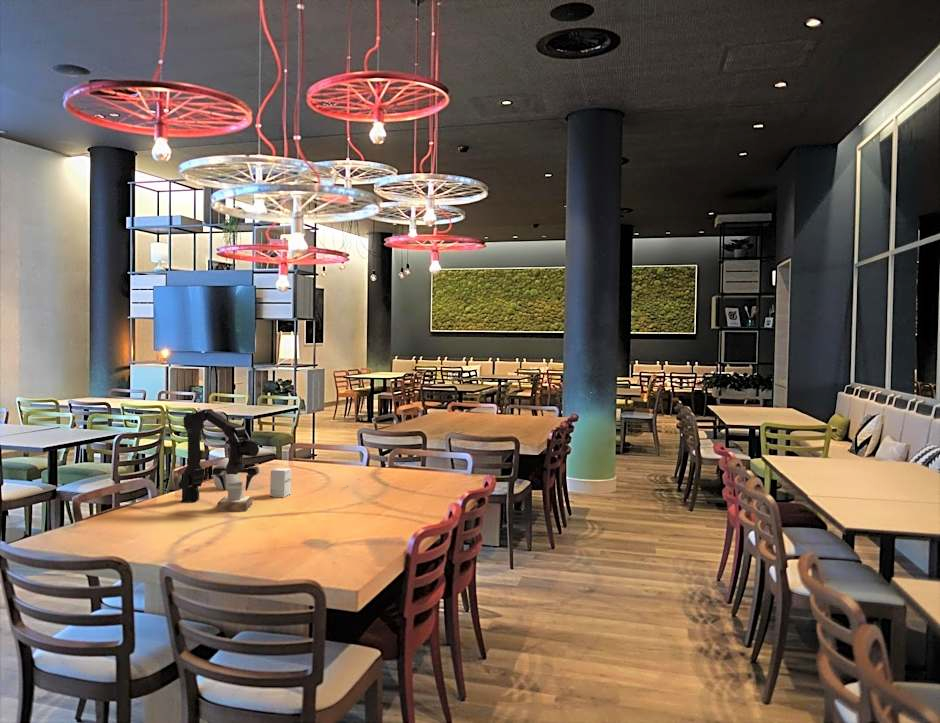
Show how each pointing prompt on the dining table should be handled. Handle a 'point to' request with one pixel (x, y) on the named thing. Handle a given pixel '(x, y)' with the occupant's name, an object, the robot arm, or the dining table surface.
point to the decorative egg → (228, 477)
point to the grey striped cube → (235, 490)
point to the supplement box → (280, 482)
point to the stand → (234, 504)
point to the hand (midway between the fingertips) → (235, 490)
